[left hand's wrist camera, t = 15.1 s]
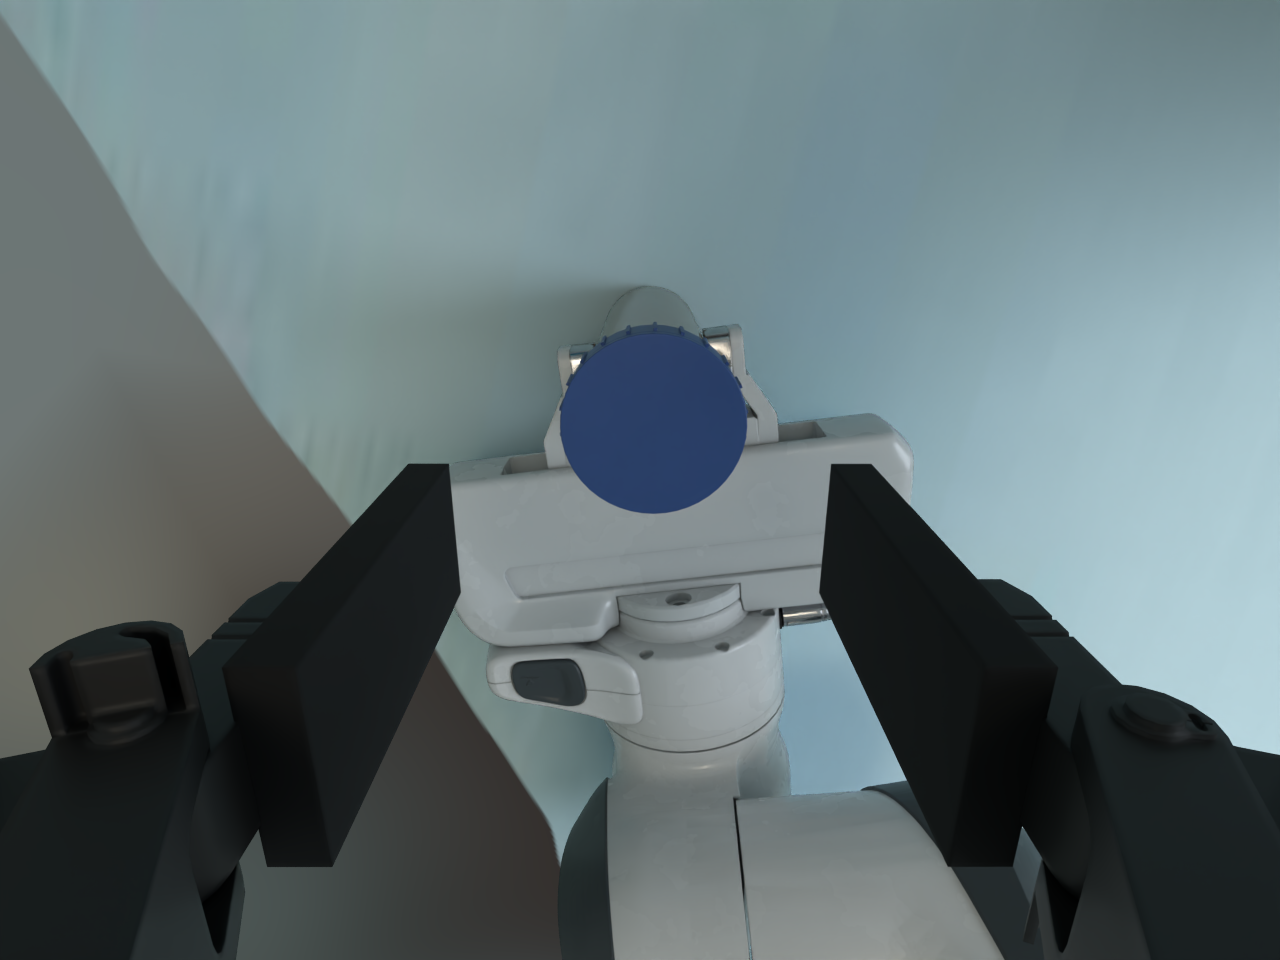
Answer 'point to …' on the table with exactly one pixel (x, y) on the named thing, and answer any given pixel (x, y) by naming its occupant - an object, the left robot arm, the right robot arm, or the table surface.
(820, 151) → the table surface
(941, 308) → the table surface
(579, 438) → the lid
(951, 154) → the table surface
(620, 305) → the jar
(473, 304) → the table surface
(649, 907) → the right robot arm
